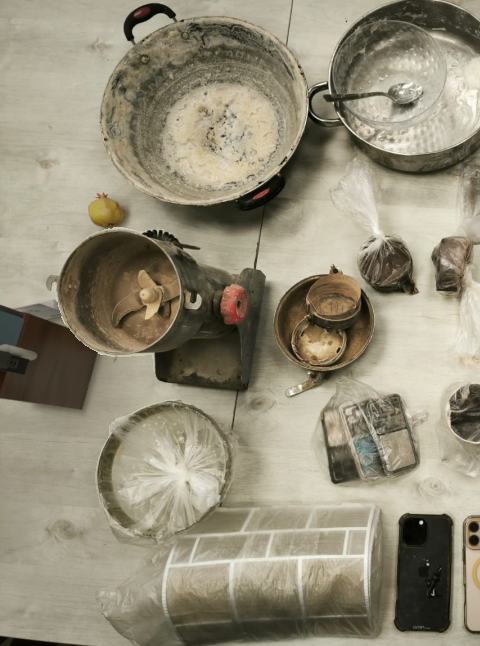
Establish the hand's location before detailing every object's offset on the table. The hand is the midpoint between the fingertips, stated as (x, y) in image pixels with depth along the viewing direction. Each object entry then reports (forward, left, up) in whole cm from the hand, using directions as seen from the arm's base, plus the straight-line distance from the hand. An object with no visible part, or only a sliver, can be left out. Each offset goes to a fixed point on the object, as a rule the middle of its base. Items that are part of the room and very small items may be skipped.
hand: (22, 366), depth 94 cm
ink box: (-20, +14, -28) cm, 37 cm away
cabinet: (-11, +2, -28) cm, 30 cm away
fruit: (-11, +39, -28) cm, 49 cm away
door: (-3, +5, -4) cm, 7 cm away
